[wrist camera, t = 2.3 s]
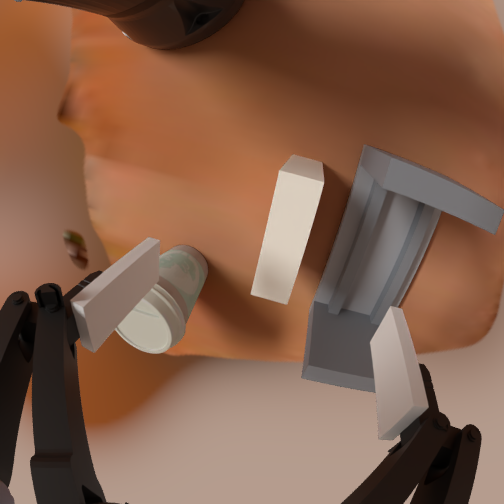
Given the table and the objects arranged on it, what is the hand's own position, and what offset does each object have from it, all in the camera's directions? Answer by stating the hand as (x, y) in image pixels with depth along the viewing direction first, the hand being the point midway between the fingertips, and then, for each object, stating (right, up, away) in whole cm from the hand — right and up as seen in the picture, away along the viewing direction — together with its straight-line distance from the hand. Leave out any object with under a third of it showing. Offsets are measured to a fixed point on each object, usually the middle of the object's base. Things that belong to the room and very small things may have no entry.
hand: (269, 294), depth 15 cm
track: (+13, +3, +14) cm, 19 cm away
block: (+4, +7, +14) cm, 16 cm away
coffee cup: (-9, +1, +20) cm, 22 cm away
